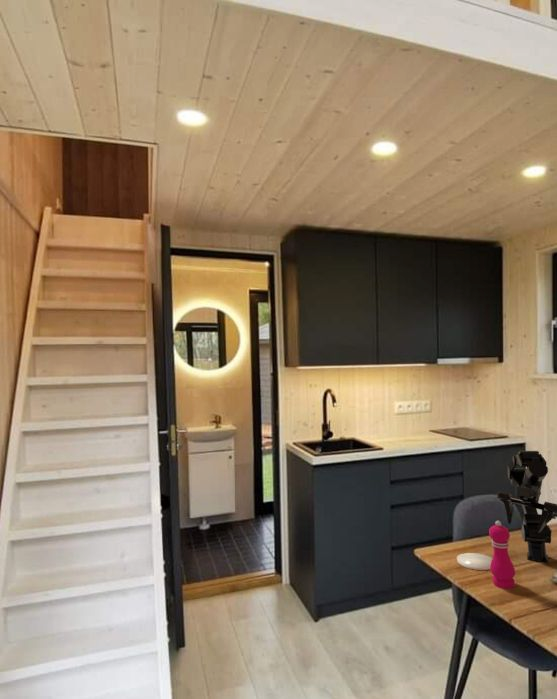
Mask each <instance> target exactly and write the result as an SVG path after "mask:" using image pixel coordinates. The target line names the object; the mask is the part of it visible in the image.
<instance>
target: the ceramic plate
mask: <svg viewBox="0 0 557 699" xmlns="http://www.w3.org/2000/svg"><path fill="white" fill-rule="evenodd" d="M492 559H493V557H491V556H489V555H486V554H482V553H477V552H465V553H461V554H458V555H457V557H456V562H457V563H458V564H459V566H462V567H463V568H466V569H470V570H476V571H489V570H490V565H491V561H492Z"/></svg>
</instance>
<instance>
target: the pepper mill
mask: <svg viewBox="0 0 557 699" xmlns="http://www.w3.org/2000/svg"><path fill="white" fill-rule="evenodd" d="M488 533H489V537H490V538H491V545H492V547H493V557H492V558H493V559H492V561H491V565H490V572H491V574H492V575H493V576H492V583H493V585H494V586H495V587H498V588H500V589H506V590H507V589H514V587H515V586H516V585H515V579H514V577H515V575H516V569H515V567H514V566H515V565H514V564H513V562H512V560H511V558H510V555H509V551H508V549H509V547H510V546H509V540H510V537H511V535H510V531H509V530H508V528H506V526H503V525H502V522H501V521H500V520H496V521H495V524H494V525H492V526H491V527H490V528H489V530H488Z"/></svg>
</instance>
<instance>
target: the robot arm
mask: <svg viewBox="0 0 557 699" xmlns="http://www.w3.org/2000/svg"><path fill="white" fill-rule="evenodd" d="M517 466H520V467H522V468H516V467H517ZM548 471H549V468H548V466H547V461H546V459H545V458H544V457H543V455H542V453H540V451H539V450H519V451H518V452H517V454H514V455H512V461H510V462H509V464H508V465H507V478H508V480H509V481H510V484H511V485H512V487H513V488H515V492H514V493H515V496H517V497H515V496H513V495H512V494H511V493H510V492H505V491H499V492H498V493H497V496H496V497H497V498H496V499H497V500H498V501H499V502H500V503H501V504H502V505H503V507H504V508H505V512H506V519H507V524H508V525H511V523H512V519H513V513H514V508H515V507H514V506H513V505H514V504H517V505H519V506H520V505H521V506H522V509H523V510H522V511H523V513H524V516H523V522H522V526H521V531H520V533H521V539H522V540H523V542H524V543H526V542H527V543H526V544H527V551H528V552H527V554H526V559H527V560H530V561H531V560H532V561H537V562H543V563H549V554H547V547H546V544H551V542H552V529H551V528H550V525H548V523H549V522H550V521H551V520H556V518H557V503H553V502H549V501H544V502H543V503H540V496H541V495H542V486H543V481H544V479H545V478H546V476H547V474H548V473H549V472H548ZM538 510H540V511H541V513H539V512H538Z"/></svg>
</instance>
